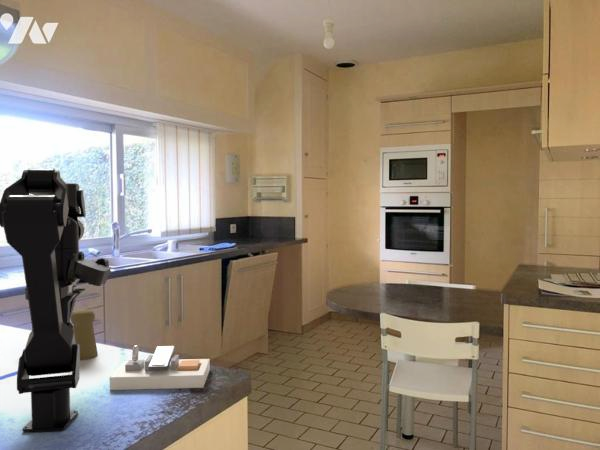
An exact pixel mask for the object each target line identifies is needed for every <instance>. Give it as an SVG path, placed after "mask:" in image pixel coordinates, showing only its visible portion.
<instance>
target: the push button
mask: <svg viewBox="0 0 600 450" xmlns="http://www.w3.org/2000/svg"><path fill="white" fill-rule="evenodd" d="M199 368H200V365H199V360H182V361H181V363H180V365H179V371H196V370H199Z"/></svg>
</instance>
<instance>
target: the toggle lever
mask: <svg viewBox="0 0 600 450" xmlns="http://www.w3.org/2000/svg"><path fill="white" fill-rule="evenodd" d="M139 351H140V347H139V345H137V344H136V345H134V346H133V347H132V351H131V360H133V361H137V360H139Z"/></svg>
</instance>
